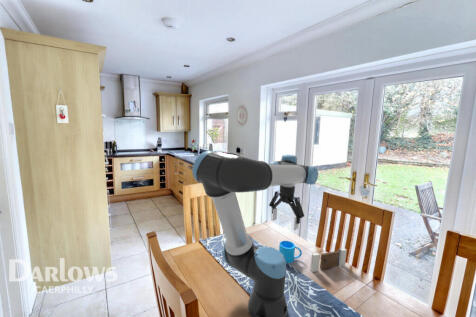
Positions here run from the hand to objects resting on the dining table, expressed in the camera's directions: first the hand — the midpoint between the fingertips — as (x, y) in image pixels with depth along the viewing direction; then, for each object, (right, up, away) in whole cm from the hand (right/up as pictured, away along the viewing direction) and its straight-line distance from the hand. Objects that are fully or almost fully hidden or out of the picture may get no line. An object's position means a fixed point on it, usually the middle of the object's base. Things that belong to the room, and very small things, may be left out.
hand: (284, 224), depth 117 cm
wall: (+21, -21, -3) cm, 30 cm away
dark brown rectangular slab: (+22, -21, -4) cm, 31 cm away
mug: (+4, -20, +4) cm, 21 cm away
